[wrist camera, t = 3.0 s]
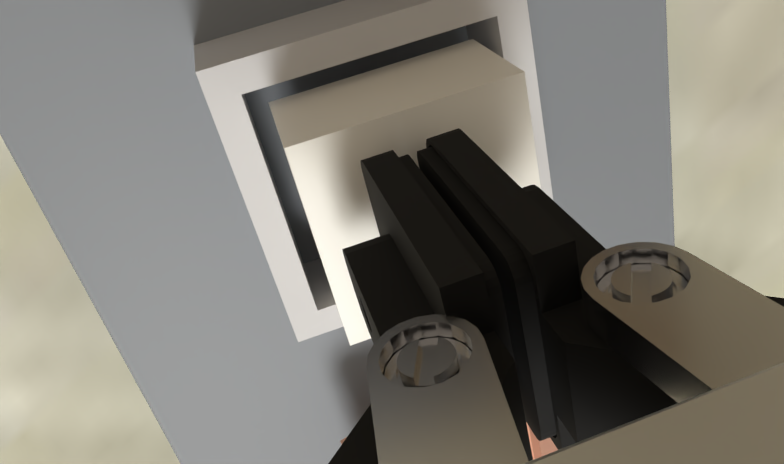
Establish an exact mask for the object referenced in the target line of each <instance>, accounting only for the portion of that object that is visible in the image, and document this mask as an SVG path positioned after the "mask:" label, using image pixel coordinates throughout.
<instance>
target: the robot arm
mask: <svg viewBox="0 0 784 464" xmlns="http://www.w3.org/2000/svg"><path fill="white" fill-rule="evenodd" d="M417 159H418V164H419V167H418V166H417V165H416V163H415V162H414V161H413V159H412V158H411V157H410V156H409V155H408V154H407V155H404V156H401V157H398V156H397V154H396V153H395V152H394V151H393V150H391V151H388V152H385V153H382V154H379V155H376V156H372V157H369V158H366V159H363V160H361V161H360V163H361V169H362V173H363V177H364V180H365V184H366V187H367V191H368V194H369V198H370V202H371V205H372V209H373V212H374V216H375V220H376V223H377V227H378V230H379V234H380V237H377V238H374V239H371V240H368V241H365V242H362V243H359V244H356V245H353V246H350V247H347V248H344V249H342V250H343V255H344V259H345V262H346V265H347V268H348V272H349V275H350V278H351V281H352V284H353V287H354V291H355V294H356V297H357V300H358V303H359V306H360V309H361V312H362V314H363V317H364V320H365V323H366V326H367V328H368V331H369V334H370V336H371V339H372V341H373V346H372V348H371V350H370V352H369V354H368V356H367V366H366V370H367V378H368V386H369V394H370V401H371V404H370V406H369V407H368V408H367V410H366V411H365V413H364V414H363V415H362V417H361V418H360V420H359V421H358V422H357V424H356V425H355V427H354V428H353V429H352V431H351V432H350V434H349V435H348V436H347V438H346V439H345V441H344V442H343V443H342V445H341V446H340V448H339V449H338V450H337V452H336V453H335V455H334V456H333V458H332V459H331V460H330V462H329V463H328V464H784V298H777V297H769V296H764V295H762V294H760V293H759V292H757V291H755V290H753V289H752V288H750V287H748V286H746V285H745V284H743V283H741V282H739V281H738V280H736V279H734V278H732V277H731V276H729V275H727V274H725V273H724V272H722V271H720V270H718V269H717V268H715V267H713V266H712V265H710V264H708V263H706V262H705V261H703V260H701V259H699V258H698V257H696V256H694V255H692V254H691V253H689V252H687V251H685V250H682V249H680V248H677V247H675V246H673V245H667V244H662V243H657V242H633V243H627V244H620V245H617V246H614V247H611V248H608V249H605V248H604V247H603V246H602V245H601V244H600V243H599V242H598V241H597V240H596V239H595V238H594V237H592V236H591V235H590V234H589V233H588V232H587V231H586V230H585V229H584V228H583V227H582V226H580V225H579V224H578V223H577V222H576V221H575V220H574V219H573V218H572V217H571V216H570V215H569V214H567V213H566V212H565V211H564V210H563V209H562V208H561V207H560V206H559V205H558V204H557V203H555V202H554V201H553V200H552V199H551V198H550V197H549V196H548V195H547V194H546V193H545V192H544V191H542V190H541V189H540V188H539V187H537V186H536V185H529V186H526V187H523V188H521V187H520V186H519V185H518V184H517V183H516V182H515V181H514V180H513V179H512V178H511V177H510V176H509V175H508V174H507V173H506V172H504V171H503V170H502V169H501V168H500V167H499V166H498V165H497V164H496V163H495V162H494V161H493V160H492V159H491V158H490V157H489V156H488V155H487V154H486V153H485V152H484V151H483V150H482V149H481V148H480V147H479V146H478V145H477V144H476V143H475V142H474V141H472V140H471V139H470V138H469V137H468V136H467V135H466V134H465V133H464V132H463V131H462V130H461V129H459V128H458V129H455V130H452V131H449V132H446V133H443V134H440V135H437V136H434V137H430V138H428V139H426V148H425V149H422V150H419V151H417ZM419 168H420V169H419ZM526 422H527V424H528V426H529V427H530V429H531V430H532V432H533V434H534V435H535V437H536V438H537V439H538V440H539V441H542V440H545V439H547V438H551V440H552V441H553V443H554V444H555V446H556V447H557V449H558V450H557V451H554V452H552V453H549V454H547V455H544V456H541V457H539V458H536V459H534V460H533V457H532V451H531V446H530V440H529V435H528V429H527V424H526Z"/></svg>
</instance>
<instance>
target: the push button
mask: <svg viewBox="0 0 784 464" xmlns="http://www.w3.org/2000/svg"><path fill="white" fill-rule="evenodd" d="M268 103H269V106H270V109H271V112H272V115H273V118H274V121H275V124H276V127H277V130H278V133H279V136H280V139H281V142H282V145H283V148H284V151H285V154H286V157H287V160H288V163H289V166H290V169H291V172H292V175H293V178H294V181H295V184H296V187H297V190H298V193H299V196H300V199H301V202H302V205H303V208H304V211H305V214H306V217H307V220H308V223H309V226H310V229H311V232H312V235H313V238H314V240H315V243H316V246H317V249H318V252H319V255H320V258H321V261H322V264H323V267H324V270H325V273H326V276H327V279H328V282H329V285H330V288H331V291H332V294H333V297H334V300H335V303H336V306H337V309H338V311H339V314H340V317H341V320H342V323H343V326H344V329H345V332H346V335H347V338H348V341H349V344H350V346H351V345H354V344H357V343H359V342H362V341H365V340H368V339H371V336H370V334H369V331H368V328H367V326H366V323H365V320H364V317H363V314H362V312H361V309H360V306H359V303H358V300H357V297H356V294H355V291H354V287H353V284H352V281H351V278H350V275H349V272H348V268H347V265H346V262H345V259H344V255H343V250H342V249H344V248H347V247H350V246H353V245H356V244H359V243H362V242H365V241H368V240H371V239H374V238H377V237H380V234H379V230H378V227H377V223H376V220H375V216H374V212H373V209H372V205H371V202H370V198H369V194H368V191H367V187H366V184H365V180H364V177H363V173H362V169H361V163H360V161H361V160H363V159H366V158H369V157H372V156H376V155H379V154H382V153H385V152H388V151H391V150H393V151H394V152H395V153H396V154H397V156H398V157H401V156H404V155H407V154H408V155H409V156H410V157H411V158H412V159H413V161H414V162H415V163H416V165H417V166H418V167H419V164H418V159H417V151H419V150H422V149H425V148H426V139H428V138H430V137H434V136H437V135H440V134H443V133H446V132H449V131H452V130H455V129H458V128H459V129H461V130H462V131H463V132H464V133H465V134H466V135H467V136H468V137H469V138H470V139H471V140H472V141H474V142H475V143H476V144H477V145H478V146H479V147H480V148H481V149H482V150H483V151H484V152H485V153H486V154H487V155H488V156H489V157H490V158H491V159H492V160H493V161H494V162H495V163H496V164H497V165H498V166H499V167H500V168H501V169H502V170H503V171H504V172H506V173H507V174H508V175H509V176H510V177H511V178H512V179H513V180H514V181H515V182H516V183H517V184H518V185H519V186H520V187H521V188H523V187H526V186H529V185H536V186H537V187H539V188H540V189H541V185H540V178H539V171H538V164H537V157H536V150H535V143H534V135H533V128H532V121H531V114H530V107H529V100H528V93H527V86H526V79H525V72H524V71H523V70H521V69H519V68H518V67H516V66H515V65H513V64H512V63H510V62H508V61H507V60H505V59H504V58H502V57H501V56H499V55H497V54H496V53H494V52H493V51H491V50H489V49H488V48H486V47H485V46H483V45H482V44H480V43H478V42H477V41H475V40H474V39H471V40H468V41H464V42H461V43H458V44H455V45H451V46H448V47H445V48H442V49H439V50H435V51H432V52H429V53H426V54H422V55H419V56H416V57H413V58H410V59H406V60H403V61H400V62H397V63H393V64H390V65H387V66H384V67H381V68H377V69H374V70H371V71H368V72H364V73H361V74H358V75H355V76H352V77H348V78H345V79H342V80H339V81H335V82H332V83H329V84H326V85H323V86H319V87H316V88H313V89H310V90H306V91H303V92H300V93H297V94H294V95H290V96H287V97H284V98H281V99H277V100H274V101H271V102H268ZM419 169H420V168H419Z"/></svg>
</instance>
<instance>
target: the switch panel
mask: <svg viewBox="0 0 784 464" xmlns="http://www.w3.org/2000/svg"><path fill="white" fill-rule="evenodd" d="M471 39H474V40H475V41H477V42H478V43H480V44H482V45H483V46H485V47H486V48H488V49H489V50H491V51H493V52H494V53H496V54H497V55H499V56H501V57H502V58H504V59H505V60H507V61H508V62H510V63H512V64H513V65H515V66H516V67H518V68H519V69H521V70H523V71H524V72H525V79H526V86H527V93H528V100H529V107H530V114H531V121H532V128H533V135H534V143H535V150H536V157H537V164H538V171H539V178H540V185H541V190H542V191H544V192H545V193H546V194H547V195H548V196H549V197H550V198H551V199H552V200H553V201H554V202H555V203H557V204H558V205H559V206H560V207H561V208H562V209H563V210H564V211H565V212H566V213H567V214H569V215H570V216H571V217H572V218H573V219H574V220H575V221H576V222H577V223H578V224H579V225H580V226H582V227H583V228H584V229H585V230H586V231H587V232H588V233H589V234H590V235H591V236H592V237H594V238H595V239H596V240H597V241H598V242H599V243H600V244H601V245H602V246H603V247H604V248H605V249H608V248H611V247H614V246H617V245H620V244H627V243H633V242H657V243H662V244H667V245H673V246H675V244H674V216H673V189H672V161H671V133H670V105H669V77H668V50H667V22H666V0H0V135H1V137H2V138H3V140H4V142H5V144H6V146H7V148H8V149H9V151H10V153H11V155H12V157H13V159H14V160H15V162H16V164H17V166H18V168H19V170H20V171H21V173H22V175H23V177H24V179H25V180H26V182H27V184H28V186H29V188H30V190H31V191H32V193H33V195H34V197H35V199H36V201H37V202H38V204H39V206H40V208H41V210H42V211H43V213H44V215H45V217H46V219H47V221H48V222H49V224H50V226H51V228H52V230H53V232H54V233H55V235H56V237H57V239H58V241H59V242H60V244H61V246H62V248H63V250H64V252H65V253H66V255H67V257H68V259H69V261H70V263H71V264H72V266H73V268H74V270H75V272H76V274H77V275H78V277H79V279H80V281H81V283H82V284H83V286H84V288H85V290H86V292H87V294H88V295H89V297H90V299H91V301H92V303H93V305H94V306H95V308H96V310H97V312H98V314H99V315H100V317H101V319H102V321H103V323H104V325H105V326H106V328H107V330H108V332H109V334H110V336H111V337H112V339H113V341H114V343H115V345H116V347H117V348H118V350H119V352H120V354H121V356H122V357H123V359H124V361H125V363H126V365H127V367H128V368H129V370H130V372H131V374H132V376H133V378H134V379H135V381H136V383H137V385H138V387H139V388H140V390H141V392H142V394H143V396H144V398H145V399H146V401H147V403H148V405H149V407H150V409H151V410H152V412H153V414H154V416H155V418H156V419H157V421H158V423H159V425H160V427H161V429H162V430H163V432H164V434H165V436H166V438H167V440H168V441H169V443H170V445H171V447H172V449H173V451H174V452H175V454H176V456H177V458H178V460H179V461H180V463H181V464H328V463H329V462H330V460H331V459H332V458H333V456H334V455H335V453H336V452H337V450H338V449H339V448H340V446H341V442H340V440H342V439H344V438H346V437H347V436H348V435H349V434H350V432H351V431H352V429H353V428H354V427H355V425H356V424H357V422H358V421H359V420H360V418H361V417H362V415H363V414H364V413H365V411H366V410H367V408H368V407H369V406H370V404H371V401H370V394H369V386H368V378H367V370H366V366H367V356H368V354H369V352H370V350H371V348H372V346H373V341H372V339H368V340H365V341H362V342H359V343H357V344H354V345H351V346H350V344H349V341H348V338H347V335H346V332H345V329H344V326H343V323H342V320H341V317H340V314H339V311H338V309H337V306H336V303H335V300H334V297H333V294H332V291H331V288H330V285H329V282H328V279H327V276H326V273H325V270H324V267H323V264H322V261H321V258H320V255H319V252H318V249H317V246H316V243H315V240H314V238H313V235H312V232H311V229H310V226H309V223H308V220H307V217H306V214H305V211H304V208H303V205H302V202H301V199H300V196H299V193H298V190H297V187H296V184H295V181H294V178H293V175H292V172H291V169H290V166H289V163H288V160H287V157H286V154H285V151H284V148H283V145H282V142H281V139H280V136H279V133H278V130H277V127H276V124H275V121H274V118H273V115H272V112H271V109H270V106H269V103H268V102H271V101H274V100H277V99H281V98H284V97H287V96H290V95H294V94H297V93H300V92H303V91H306V90H310V89H313V88H316V87H319V86H323V85H326V84H329V83H332V82H335V81H339V80H342V79H345V78H348V77H352V76H355V75H358V74H361V73H364V72H368V71H371V70H374V69H377V68H381V67H384V66H387V65H390V64H393V63H397V62H400V61H403V60H406V59H410V58H413V57H416V56H419V55H422V54H426V53H429V52H432V51H435V50H439V49H442V48H445V47H448V46H451V45H455V44H458V43H461V42H464V41H468V40H471Z"/></svg>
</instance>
